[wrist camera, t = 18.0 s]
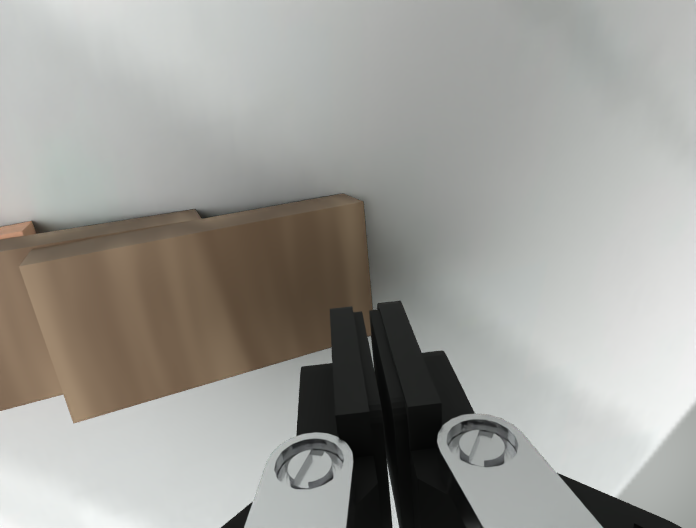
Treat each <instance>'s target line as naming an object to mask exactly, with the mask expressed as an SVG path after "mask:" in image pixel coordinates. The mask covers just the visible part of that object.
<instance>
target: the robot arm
mask: <svg viewBox="0 0 696 528" xmlns="http://www.w3.org/2000/svg"><path fill="white" fill-rule="evenodd" d="M369 316H370V328H371V339H372V350H373V361H374V367H373V363H372V358H371V353H370V348H369V343H368V338H367V333H366V328H365V323H364V318H363V313H362V311H360V312H353V307H352V306H350V307H342V308H333V309H330V327H331V346H332V363H330V364H321V365H313V366H304V367H301V373H300V389H299V404H298V420H297V436H296V437H293V438H290V439H289V440H287V441H285V442H284V443H282V444H280V445H279V446H278V447H277V448H276V449H275V450H274V451H273V452H272V453H271V455H270V457H269V459H268V460H267V462H266V465H265V468H264V471H263V474H262V477H261V480H260V482H259V485H258V488H257V491H256V494H255V497H254V500H253V502H252V503H250V504H249V505H248V506H247V507H246V508H244V509H243V510H242V511H241V512H239V513H238V514H237V515H236V516H235V517H233V518H232V519H231V520H230V521H228V522H227V523H226V524H225V525H224V526H222V527H221V528H392V516H391V505H390V493H389V481H388V470H387V464H388V469H389V475H390V480H391V485H392V491H393V496H394V501H395V507H396V512H397V517H398V523H399V528H681V527H680V526H678V525H676V524H674V523H672V522H670V521H668V520H666V519H664V518H661V517H659V516H657V515H654V514H652V513H649V512H647V511H645V510H643V509H640V508H638V507H636V506H633V505H631V504H629V503H626V502H624V501H621V500H619V499H617V498H615V497H612V496H610V495H608V494H605V493H603V492H601V491H598V490H596V489H594V488H591V487H589V486H587V485H584V484H582V483H580V482H577V481H575V480H573V479H570V478H568V477H566V476H563V475H561V474H559V473H556V472H555V470H554V469H553V468H552V467H551V466H550V465H549V463H548V462H547V461H546V460H545V459H544V457H543V456H542V455H541V454H540V453H539V452H538V450H537V449H536V448H535V447H534V446H533V445H532V443H531V442H530V441H529V440H528V439H527V437H526V436H525V435H524V434H523V433H522V432H521V431H520V430H519V429H518V428H517V427H516V426H514V425H513V424H512V423H510V422H508V421H506V420H504V419H502V418H499V417H495V416H492V415H488V414H476V413H474V411H473V409H472V407H471V405H470V403H469V401H468V399H467V397H466V395H465V392H464V390H463V388H462V386H461V384H460V382H459V380H458V378H457V376H456V374H455V372H454V370H453V368H452V366H451V364H450V362H449V360H448V358H447V356H446V354H445V352H444V351H434V352H425V353H421V350H420V348H419V345H418V343H417V340H416V338H415V335H414V333H413V330H412V328H411V325H410V323H409V320H408V318H407V315H406V313H405V310H404V308H403V305H402V303H401V301H394V302H386V303H378V304H377V310H369Z"/></svg>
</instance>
